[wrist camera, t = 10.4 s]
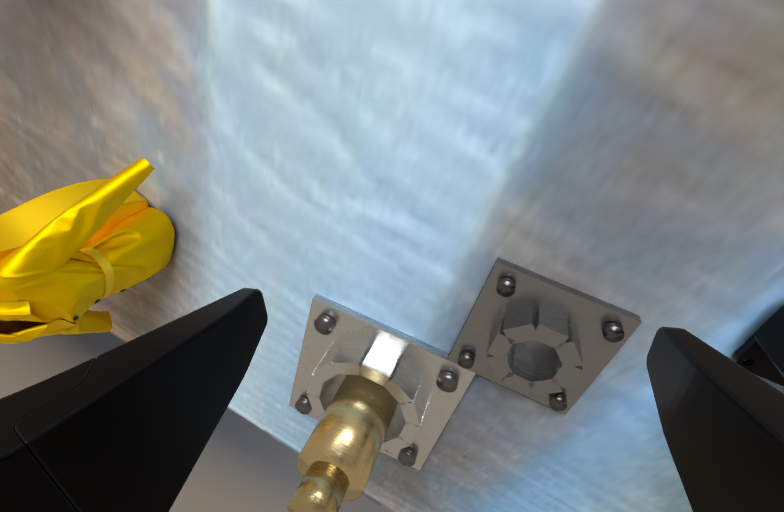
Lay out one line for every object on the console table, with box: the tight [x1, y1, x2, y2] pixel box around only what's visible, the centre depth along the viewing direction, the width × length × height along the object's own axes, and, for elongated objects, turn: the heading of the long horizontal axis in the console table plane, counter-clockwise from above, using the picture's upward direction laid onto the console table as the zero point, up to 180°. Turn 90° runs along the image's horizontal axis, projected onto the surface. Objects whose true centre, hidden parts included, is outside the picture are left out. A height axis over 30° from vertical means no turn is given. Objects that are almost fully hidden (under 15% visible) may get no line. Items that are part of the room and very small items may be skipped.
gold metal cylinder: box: [288, 375, 398, 512], centre depth 26 cm, size 4×4×10 cm
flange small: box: [447, 258, 641, 414], centre depth 23 cm, size 8×8×2 cm
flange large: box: [289, 294, 476, 470], centre depth 29 cm, size 12×12×2 cm
